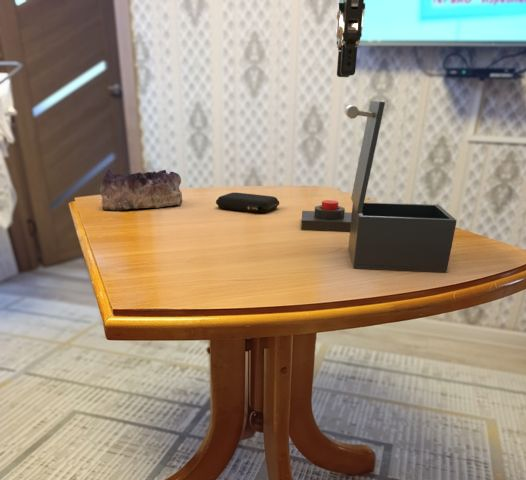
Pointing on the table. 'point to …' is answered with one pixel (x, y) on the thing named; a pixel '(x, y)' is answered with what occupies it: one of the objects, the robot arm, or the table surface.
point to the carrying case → (247, 202)
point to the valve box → (401, 237)
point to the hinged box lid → (365, 149)
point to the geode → (140, 190)
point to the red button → (330, 205)
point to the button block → (326, 220)
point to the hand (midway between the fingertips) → (345, 76)
